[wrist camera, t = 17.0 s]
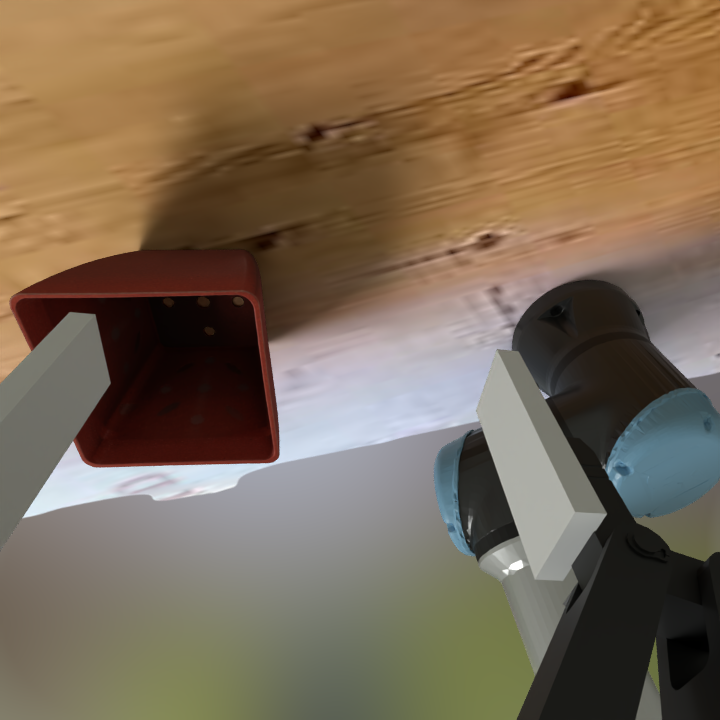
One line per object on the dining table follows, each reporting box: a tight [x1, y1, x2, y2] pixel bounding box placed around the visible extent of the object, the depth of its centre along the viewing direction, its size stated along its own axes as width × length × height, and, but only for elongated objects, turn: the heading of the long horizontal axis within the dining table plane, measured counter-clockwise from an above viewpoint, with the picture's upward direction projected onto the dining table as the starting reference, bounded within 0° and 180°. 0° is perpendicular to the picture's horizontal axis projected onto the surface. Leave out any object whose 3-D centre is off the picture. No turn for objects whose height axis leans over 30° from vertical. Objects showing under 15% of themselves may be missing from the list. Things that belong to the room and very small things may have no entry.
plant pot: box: [9, 249, 279, 467], centre depth 48 cm, size 19×19×17 cm
